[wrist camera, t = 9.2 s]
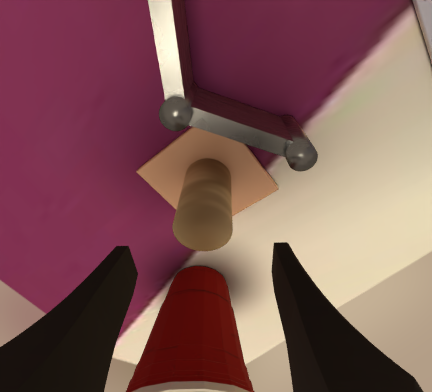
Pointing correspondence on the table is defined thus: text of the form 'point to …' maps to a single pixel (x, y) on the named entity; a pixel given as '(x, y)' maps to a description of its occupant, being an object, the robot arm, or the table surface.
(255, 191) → the coaster
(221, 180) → the oak dowel
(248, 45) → the table surface
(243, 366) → the plastic cup
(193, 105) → the bent rail
